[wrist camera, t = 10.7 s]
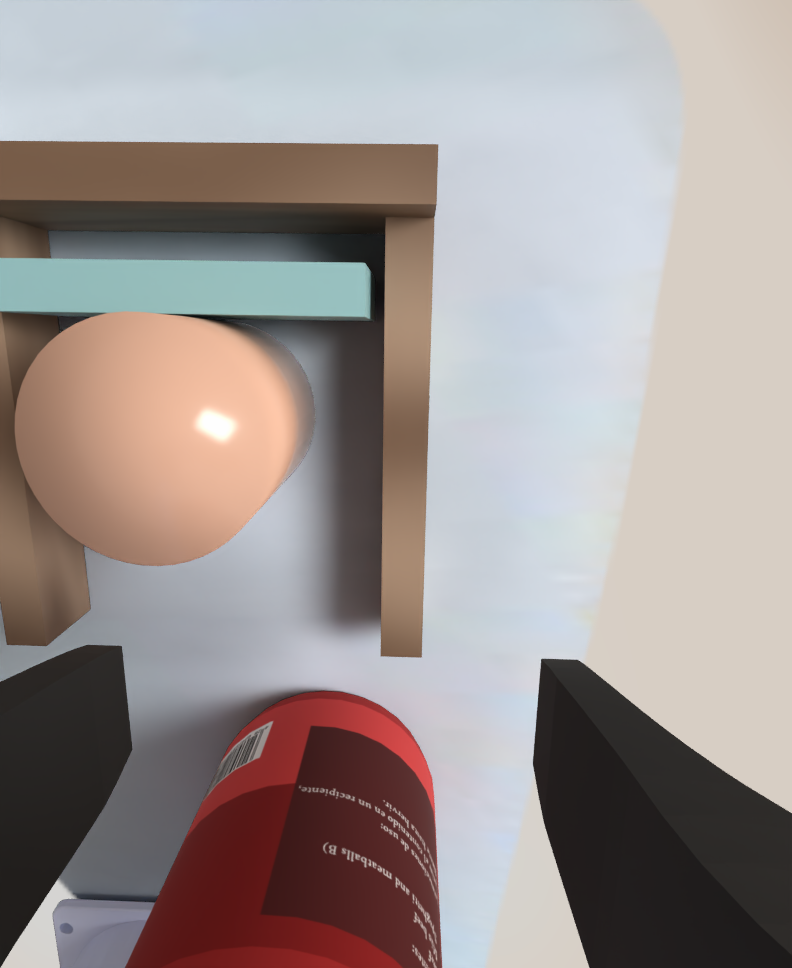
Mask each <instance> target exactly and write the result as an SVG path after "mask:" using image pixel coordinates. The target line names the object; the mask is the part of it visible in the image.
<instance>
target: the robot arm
mask: <svg viewBox="0 0 792 968" xmlns="http://www.w3.org/2000/svg"><path fill="white" fill-rule="evenodd" d="M131 751H132V742H131V732H130V722H129V712H128V703H127V693H126V683H125V673H124V663H123V653H122V646H105V645H86V646H83V647H80V648H77V649H74V650H71V651H68V652H66V653H64V654H61V655H59V656H56V657H54V658H52V659H49V660H47V661H45V662H43V663H40V664H38V665H36V666H34V667H32V668H29V669H27V670H25V671H23V672H21V673H19V674H17V675H14V676H12V677H10V678H8V679H6V680H4V681H1V682H0V967H1V966H2V964H3V962H4V961H5V959H6V957H7V956H8V954H9V953H10V951H11V949H12V948H13V946H14V944H15V943H16V941H17V940H18V938H19V937H20V935H21V934H22V932H23V931H24V929H25V928H26V926H27V925H28V923H29V922H30V920H31V919H32V917H33V916H34V914H35V913H36V911H37V909H38V908H39V906H40V905H41V903H42V902H43V900H44V899H45V897H46V896H47V894H48V893H49V891H50V890H51V888H52V887H53V885H54V884H55V882H56V881H57V879H58V878H59V876H60V875H61V873H62V872H63V870H64V869H65V867H66V866H67V864H68V862H69V861H70V859H71V858H72V856H73V855H74V853H75V852H76V850H77V849H78V847H79V846H80V844H81V843H82V841H83V839H84V838H85V836H86V835H87V833H88V832H89V830H90V829H91V827H92V826H93V824H94V822H95V821H96V819H97V818H98V816H99V814H100V813H101V811H102V810H103V808H104V806H105V805H106V803H107V801H108V799H109V797H110V795H111V793H112V791H113V789H114V787H115V785H116V783H117V781H118V779H119V777H120V775H121V773H122V770H123V768H124V766H125V764H126V762H127V760H128V757H129V755H130V753H131ZM533 767H534V772H535V778H536V784H537V789H538V795H539V800H540V804H541V810H542V815H543V819H544V824H545V828H546V831H547V834H548V838H549V841H550V844H551V847H552V850H553V853H554V857H555V860H556V863H557V867H558V870H559V873H560V876H561V879H562V882H563V886H564V889H565V892H566V895H567V898H568V901H569V904H570V908H571V910H572V914H573V917H574V920H575V924H576V927H577V929H578V933H579V936H580V939H581V942H582V946H583V949H584V952H585V955H586V958H587V961H588V964H589V967H590V968H792V813H790V812H789V811H787V810H785V809H784V808H782V807H780V806H779V805H777V804H775V803H774V802H772V801H770V800H769V799H767V798H765V797H764V796H762V795H760V794H759V793H757V792H756V791H754V790H752V789H751V788H749V787H747V786H745V785H744V784H742V783H741V782H739V781H738V780H737V779H735V778H733V777H732V776H730V775H729V774H727V773H725V772H724V771H722V770H721V769H720V768H718V767H717V766H716V765H714V764H712V763H711V762H710V761H709V760H707V759H706V758H704V757H703V756H701V755H700V754H699V753H697V752H695V751H694V750H693V749H691V748H690V747H689V746H687V745H686V744H684V743H683V742H682V741H680V740H679V739H678V738H676V737H675V736H674V735H672V734H671V733H670V732H668V731H667V730H666V729H664V728H663V727H662V726H660V725H659V724H658V723H657V722H655V721H654V720H653V719H651V718H650V717H649V716H648V715H646V714H645V713H643V712H642V711H641V710H640V709H639V708H638V707H636V706H635V705H634V704H633V703H631V702H630V701H629V700H628V699H626V698H625V697H624V696H623V695H622V694H620V693H619V692H618V691H617V690H615V689H614V688H613V687H612V686H611V685H609V684H608V683H607V682H606V681H604V680H603V679H602V678H601V677H599V676H598V675H597V674H596V673H595V672H593V671H592V670H591V669H590V668H588V667H587V666H586V665H584V664H583V663H582V662H580V661H579V660H563V659H541V670H540V683H539V695H538V707H537V719H536V732H535V744H534V756H533ZM154 904H155V902H132V901H108V900H84V899H65V900H62V901H60V902H59V904H58V905H57V907H56V908H55V910H54V912H53V922H54V929H55V936H56V942H57V948H58V956H59V962H60V968H125V966H126V964H127V962H128V960H129V958H130V956H131V953H132V951H133V949H134V947H135V945H136V943H137V941H138V938H139V936H140V934H141V932H142V930H143V928H144V926H145V923H146V921H147V919H148V917H149V915H150V913H151V911H152V908H153V906H154Z"/></svg>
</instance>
